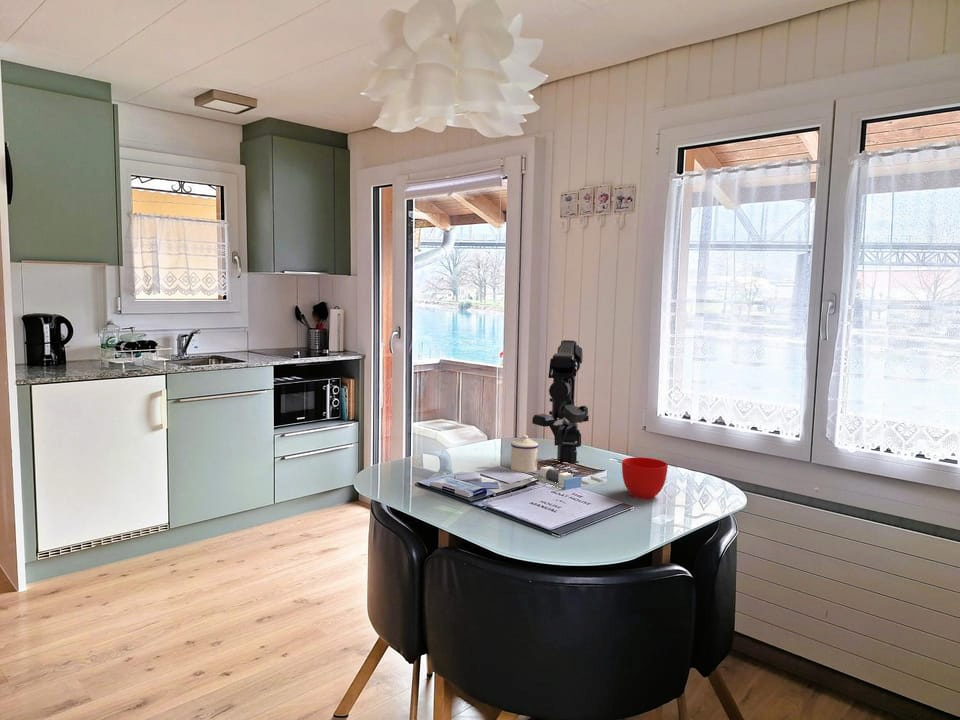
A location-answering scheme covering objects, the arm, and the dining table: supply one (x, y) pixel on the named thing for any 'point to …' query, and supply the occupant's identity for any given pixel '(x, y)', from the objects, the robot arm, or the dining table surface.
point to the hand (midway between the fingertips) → (560, 445)
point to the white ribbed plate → (569, 482)
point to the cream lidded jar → (524, 455)
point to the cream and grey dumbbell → (554, 475)
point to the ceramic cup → (644, 476)
